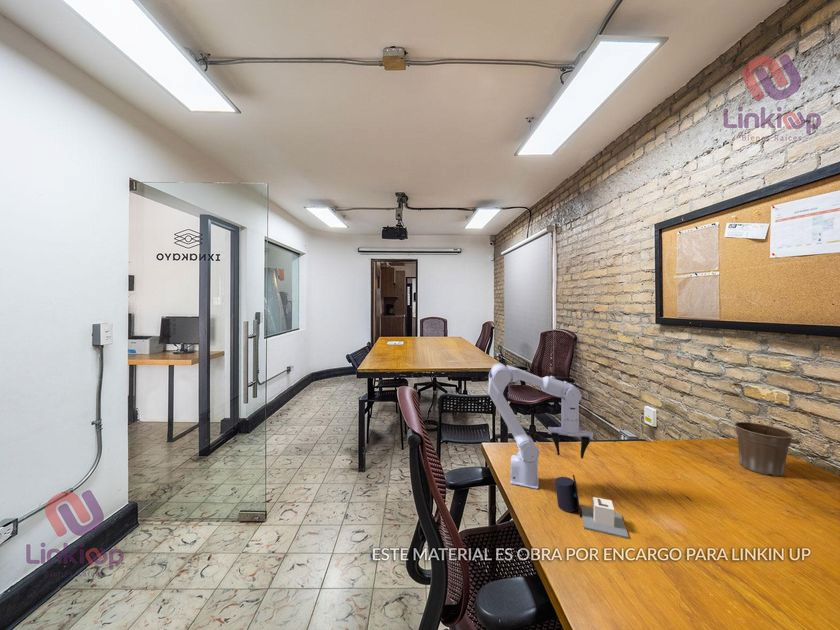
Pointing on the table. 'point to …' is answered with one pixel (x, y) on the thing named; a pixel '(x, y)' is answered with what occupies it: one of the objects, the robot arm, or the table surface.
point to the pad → (589, 524)
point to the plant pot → (763, 447)
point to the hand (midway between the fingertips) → (570, 455)
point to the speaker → (567, 494)
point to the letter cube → (603, 511)
